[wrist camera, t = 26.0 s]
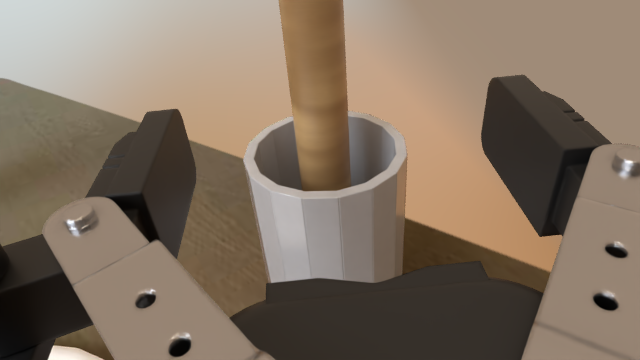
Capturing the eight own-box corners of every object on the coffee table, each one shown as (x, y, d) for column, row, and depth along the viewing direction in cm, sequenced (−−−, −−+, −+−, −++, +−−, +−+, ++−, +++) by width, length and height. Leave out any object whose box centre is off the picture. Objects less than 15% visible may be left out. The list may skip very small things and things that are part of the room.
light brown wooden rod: (365, 282, 28) (356, -107, 16) (354, 322, 26) (334, -95, 14) (318, 274, 29) (276, -102, 17) (303, 312, 27) (243, -91, 15)
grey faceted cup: (368, 245, 31) (366, 98, 25) (423, 331, 26) (437, 170, 19) (263, 277, 30) (231, 129, 23) (296, 377, 24) (266, 218, 18)
